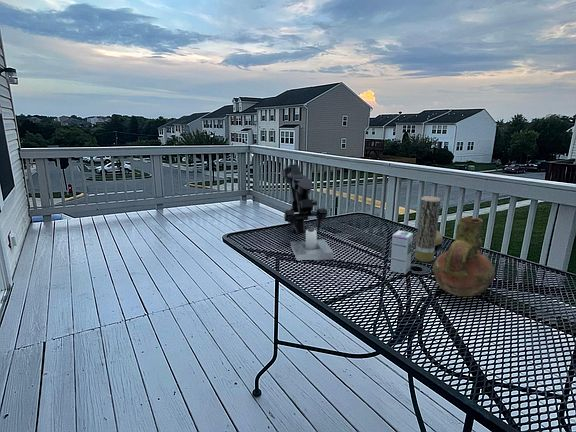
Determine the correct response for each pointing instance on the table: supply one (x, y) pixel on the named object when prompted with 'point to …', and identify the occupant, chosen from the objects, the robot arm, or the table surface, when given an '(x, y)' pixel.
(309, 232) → the plug
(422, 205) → the paper tube
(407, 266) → the syrup box
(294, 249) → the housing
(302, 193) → the robot arm
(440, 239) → the bread roll
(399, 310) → the table surface
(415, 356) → the table surface
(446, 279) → the ceramic vessel
